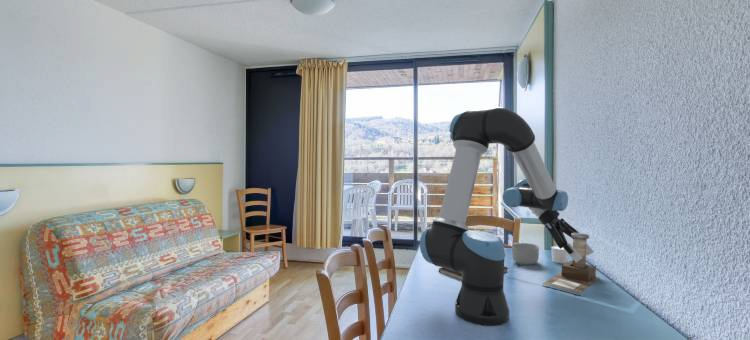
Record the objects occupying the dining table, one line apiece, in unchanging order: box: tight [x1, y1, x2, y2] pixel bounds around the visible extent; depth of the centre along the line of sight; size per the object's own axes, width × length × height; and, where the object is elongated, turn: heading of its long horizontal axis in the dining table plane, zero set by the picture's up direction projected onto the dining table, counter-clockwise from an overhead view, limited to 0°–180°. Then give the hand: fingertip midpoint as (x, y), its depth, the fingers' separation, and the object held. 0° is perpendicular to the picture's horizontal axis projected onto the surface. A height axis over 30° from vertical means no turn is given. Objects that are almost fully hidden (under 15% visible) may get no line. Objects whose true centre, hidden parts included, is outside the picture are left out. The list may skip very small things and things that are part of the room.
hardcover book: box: [438, 266, 509, 281], centre depth 141 cm, size 16×23×2 cm
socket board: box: [542, 260, 601, 297], centre depth 130 cm, size 23×12×5 cm, turn 133°
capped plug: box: [570, 232, 590, 269], centre depth 134 cm, size 6×6×16 cm
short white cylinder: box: [550, 245, 569, 264], centre depth 154 cm, size 7×7×7 cm
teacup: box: [511, 242, 540, 267], centre depth 154 cm, size 14×11×8 cm
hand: (585, 257), depth 133 cm, fingers open, 13 cm apart
